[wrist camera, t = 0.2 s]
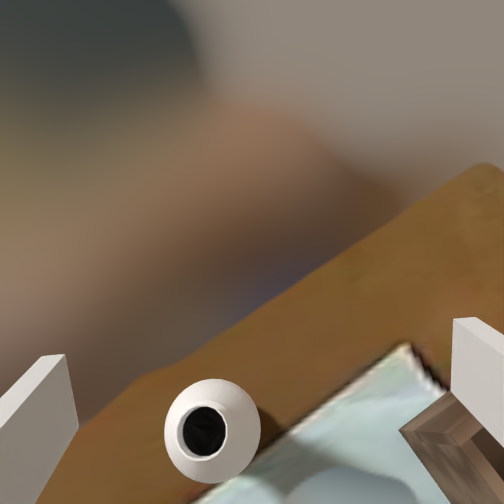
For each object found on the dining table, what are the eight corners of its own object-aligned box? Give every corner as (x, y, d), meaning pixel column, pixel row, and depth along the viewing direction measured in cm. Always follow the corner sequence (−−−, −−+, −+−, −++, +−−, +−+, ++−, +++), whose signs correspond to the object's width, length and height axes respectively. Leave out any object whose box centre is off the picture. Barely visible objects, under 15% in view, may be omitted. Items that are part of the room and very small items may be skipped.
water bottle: (199, 387, 47) (154, 356, 24) (260, 397, 47) (273, 376, 24) (186, 455, 45) (121, 493, 21) (250, 466, 44) (255, 517, 21)
